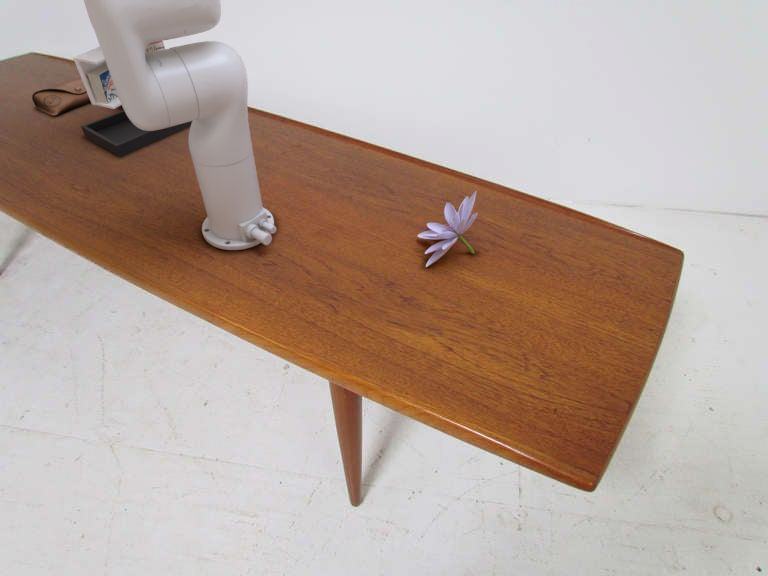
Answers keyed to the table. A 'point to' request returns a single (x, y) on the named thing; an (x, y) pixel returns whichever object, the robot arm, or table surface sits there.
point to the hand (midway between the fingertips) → (129, 65)
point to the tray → (124, 133)
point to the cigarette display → (102, 76)
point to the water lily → (450, 228)
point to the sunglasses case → (61, 97)
